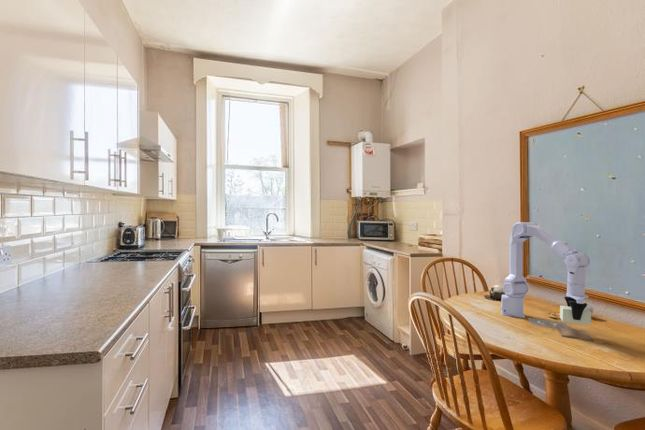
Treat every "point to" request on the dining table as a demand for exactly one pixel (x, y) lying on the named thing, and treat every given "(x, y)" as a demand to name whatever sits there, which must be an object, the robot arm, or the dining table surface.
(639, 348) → the dining table surface
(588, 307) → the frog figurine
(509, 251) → the robot arm
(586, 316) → the sage block
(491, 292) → the skull
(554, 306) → the dining table surface
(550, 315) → the figurine
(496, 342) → the dining table surface
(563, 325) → the grey tile
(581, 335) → the walnut pad
